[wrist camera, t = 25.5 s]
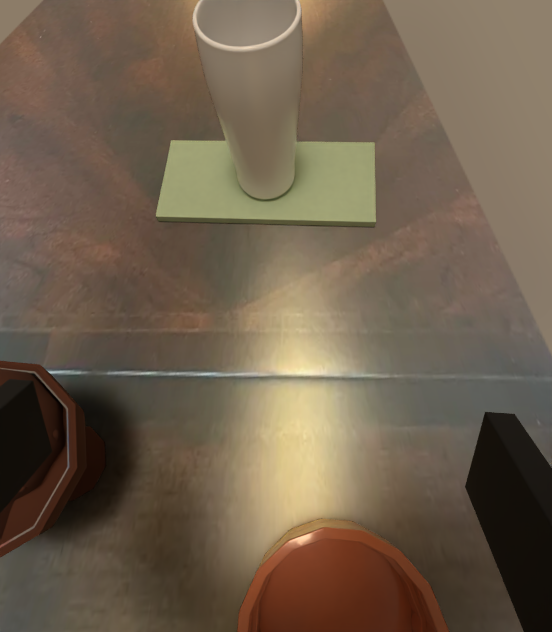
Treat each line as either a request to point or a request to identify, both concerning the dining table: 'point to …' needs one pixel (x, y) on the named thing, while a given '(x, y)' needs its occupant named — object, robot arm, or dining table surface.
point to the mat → (288, 209)
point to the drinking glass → (254, 85)
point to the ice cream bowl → (51, 460)
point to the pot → (338, 585)
